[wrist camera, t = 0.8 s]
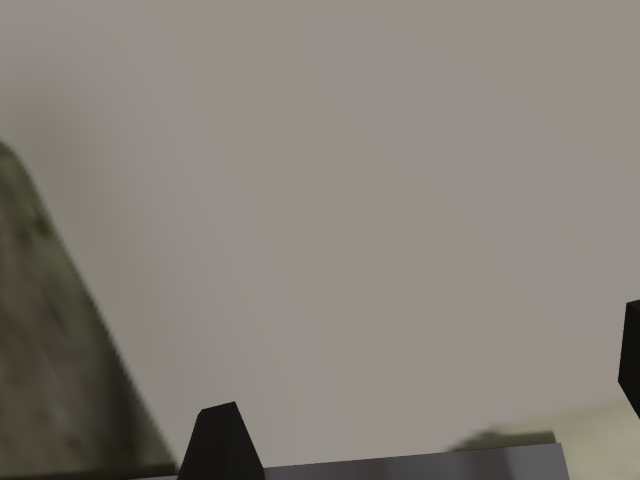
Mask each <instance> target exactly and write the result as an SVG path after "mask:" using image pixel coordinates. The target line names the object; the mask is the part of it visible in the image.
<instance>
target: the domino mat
mask: <svg viewBox="0 0 640 480" xmlns="http://www.w3.org/2000/svg"><path fill="white" fill-rule="evenodd" d="M263 469H264V474H265V480H570V479H569V475H568V471H567V467H566V462H565V458H564V454H563V450H562V445H561V443H551V444H539V445H527V446H516V447H504V448H492V449H481V450H469V451H457V452H446V453H434V454H422V455H411V456H399V457H387V458H375V459H364V460H353V461H341V462H329V463H317V464H305V465H294V466H282V467H270V468H263ZM177 477H178V475H176V476H165V477H153V478H141V479H130V480H177Z"/></svg>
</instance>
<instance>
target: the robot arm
mask: <svg viewBox="0 0 640 480" xmlns="http://www.w3.org/2000/svg"><path fill="white" fill-rule="evenodd" d="M618 382H619V384H620V386H621V388H622V389H623V391H624V393H625V395H626V397H627V398H628V400H629V402H630V404H631V405H632V407H633V409H634V410H635V412H636V414H637V415H638V417H639V419H640V300H636V301H632V302H628V303H627V304H626V312H625V321H624V330H623V340H622V349H621V358H620V367H619V376H618ZM177 480H265V474H264V469H263V467H262V464H261V462H260V460H259V457H258V455H257V452H256V450H255V448H254V445H253V443H252V441H251V438H250V436H249V434H248V431H247V429H246V426H245V424H244V422H243V419H242V417H241V415H240V412H239V410H238V408H237V405H236V403H235V401H234V402H230V403H226V404H222V405H219V406H214V407H210V408H206V409H202V410H201V412H200V413H199V414H198V416H197V419H196V423H195V426H194V429H193V433H192V436H191V439H190V442H189V445H188V448H187V451H186V454H185V457H184V460H183V463H182V466H181V468H180V471H179V474H178V477H177Z"/></svg>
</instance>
